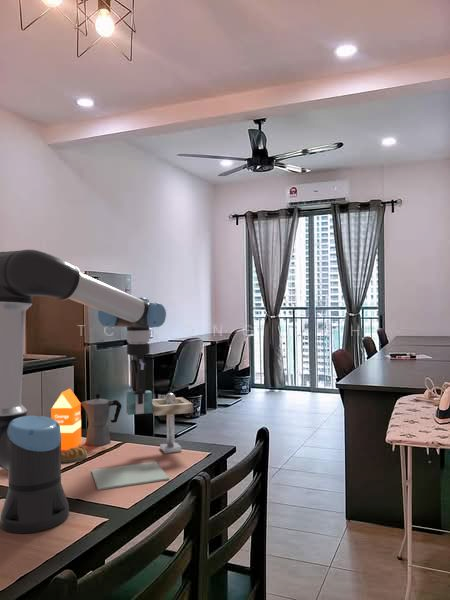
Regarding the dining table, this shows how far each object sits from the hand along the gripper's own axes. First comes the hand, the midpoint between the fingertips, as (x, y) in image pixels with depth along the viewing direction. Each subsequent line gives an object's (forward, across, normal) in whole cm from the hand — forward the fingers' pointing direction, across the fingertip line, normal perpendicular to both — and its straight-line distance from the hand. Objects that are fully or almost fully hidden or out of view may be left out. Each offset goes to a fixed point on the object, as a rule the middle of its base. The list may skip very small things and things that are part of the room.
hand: (138, 411), depth 165 cm
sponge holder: (0, 0, -7) cm, 7 cm away
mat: (+15, -19, +7) cm, 25 cm away
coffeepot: (+14, +19, +10) cm, 26 cm away
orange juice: (+15, +19, +22) cm, 32 cm away
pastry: (+15, +4, +21) cm, 26 cm away
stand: (+14, 0, -11) cm, 18 cm away
